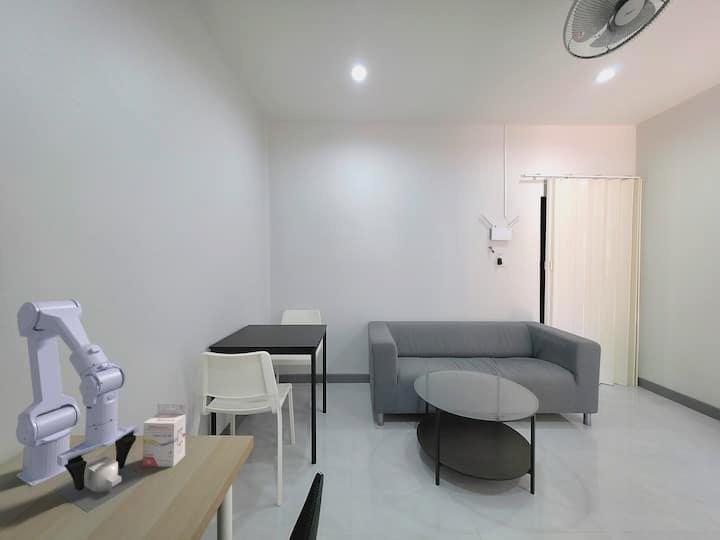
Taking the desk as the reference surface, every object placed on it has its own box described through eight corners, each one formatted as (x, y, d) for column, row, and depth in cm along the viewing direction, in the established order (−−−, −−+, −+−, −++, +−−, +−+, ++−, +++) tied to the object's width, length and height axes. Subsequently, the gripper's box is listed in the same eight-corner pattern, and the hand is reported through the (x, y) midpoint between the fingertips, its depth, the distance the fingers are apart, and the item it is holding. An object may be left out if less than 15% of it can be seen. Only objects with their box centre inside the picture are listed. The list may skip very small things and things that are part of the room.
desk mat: (52, 491, 63) (52, 489, 63) (111, 461, 73) (111, 460, 73) (87, 514, 57) (87, 512, 57) (146, 478, 67) (146, 477, 67)
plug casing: (80, 483, 65) (80, 464, 65) (101, 472, 69) (101, 454, 69) (105, 498, 60) (106, 477, 61) (126, 485, 64) (127, 466, 64)
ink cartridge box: (141, 468, 71) (142, 411, 71) (156, 456, 75) (157, 402, 76) (173, 468, 70) (174, 411, 71) (186, 456, 75) (186, 402, 76)
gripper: (68, 440, 57) (66, 506, 57) (145, 409, 71) (144, 462, 70) (53, 432, 60) (51, 495, 60) (130, 405, 73) (129, 456, 73)
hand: (100, 477), depth 65 cm, fingers open, 7 cm apart
